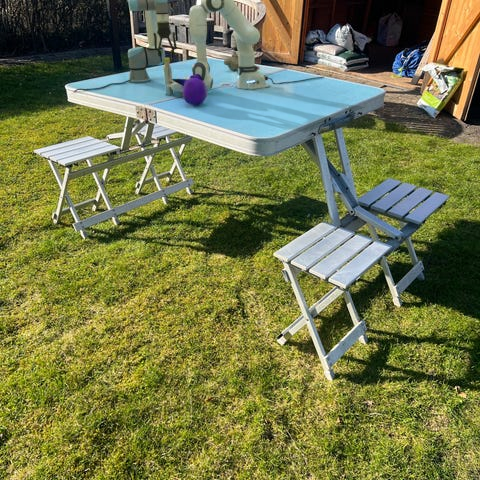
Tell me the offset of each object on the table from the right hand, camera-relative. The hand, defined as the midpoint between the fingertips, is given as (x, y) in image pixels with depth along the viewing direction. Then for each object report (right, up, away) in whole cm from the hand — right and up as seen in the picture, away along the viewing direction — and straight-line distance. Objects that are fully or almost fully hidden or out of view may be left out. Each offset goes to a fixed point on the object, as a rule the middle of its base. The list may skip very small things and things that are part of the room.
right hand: (167, 84), depth 295 cm
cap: (+1, +14, -8) cm, 16 cm away
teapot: (+44, +37, +74) cm, 94 cm away
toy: (+18, -18, -18) cm, 32 cm away
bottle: (+1, -6, +3) cm, 7 cm away
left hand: (+1, +12, -7) cm, 14 cm away
